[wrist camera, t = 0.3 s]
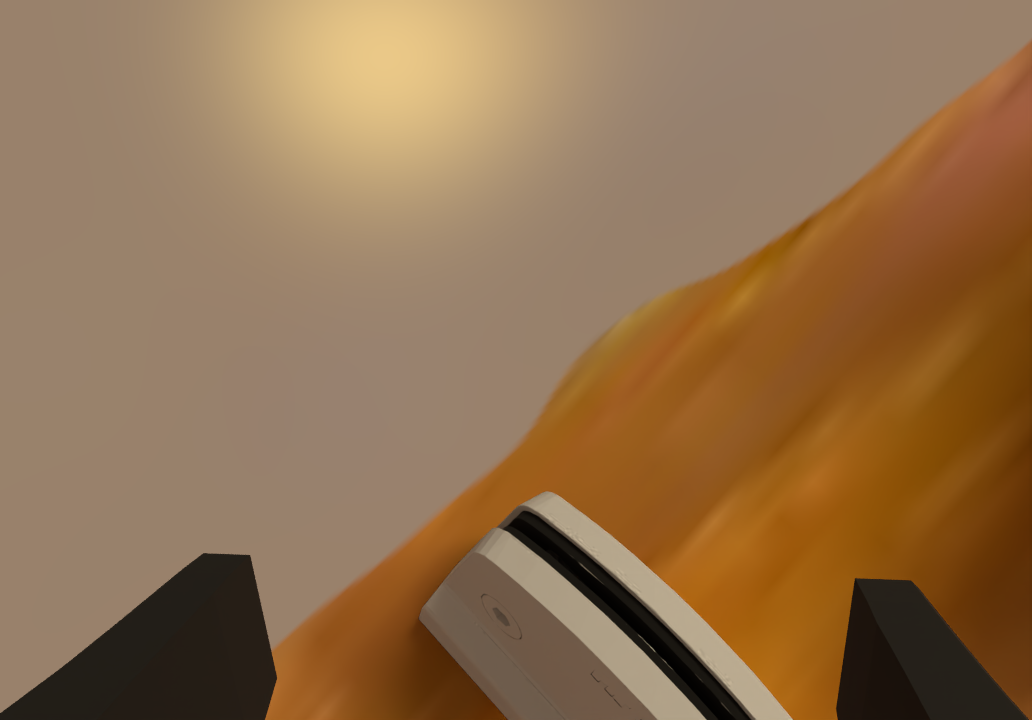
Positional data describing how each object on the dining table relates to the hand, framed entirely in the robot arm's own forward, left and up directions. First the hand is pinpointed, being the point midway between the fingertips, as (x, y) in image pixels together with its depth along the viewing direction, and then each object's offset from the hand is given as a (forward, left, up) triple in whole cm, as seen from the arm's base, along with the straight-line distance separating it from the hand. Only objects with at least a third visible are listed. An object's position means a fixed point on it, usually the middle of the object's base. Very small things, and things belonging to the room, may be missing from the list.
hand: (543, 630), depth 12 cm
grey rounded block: (-2, -2, -30) cm, 30 cm away
